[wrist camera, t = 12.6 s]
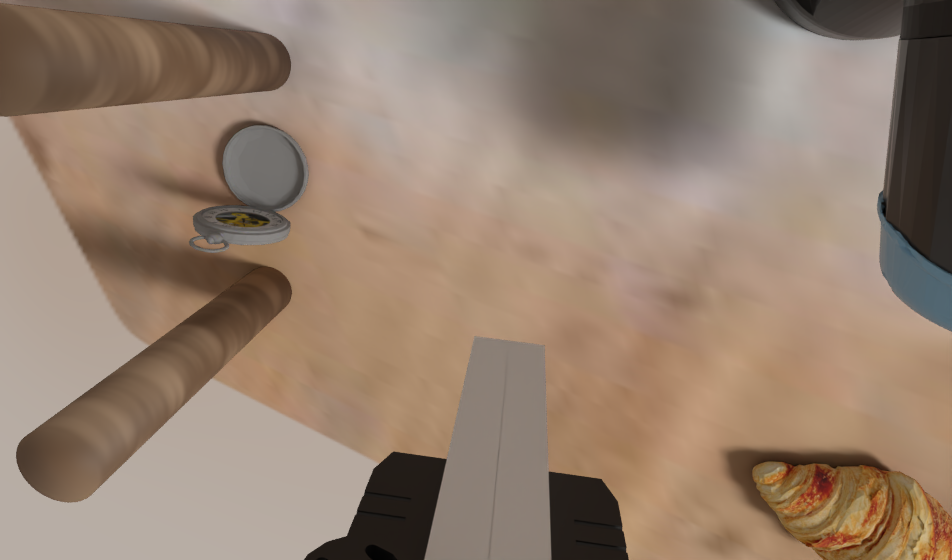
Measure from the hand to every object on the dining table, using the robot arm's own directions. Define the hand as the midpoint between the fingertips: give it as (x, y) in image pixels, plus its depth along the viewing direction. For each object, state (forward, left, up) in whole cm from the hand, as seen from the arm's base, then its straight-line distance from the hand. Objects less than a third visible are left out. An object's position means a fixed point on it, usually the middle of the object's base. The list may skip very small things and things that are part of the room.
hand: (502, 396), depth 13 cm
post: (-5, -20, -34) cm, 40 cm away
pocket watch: (+4, -20, -35) cm, 40 cm away
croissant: (+26, +32, -35) cm, 54 cm away
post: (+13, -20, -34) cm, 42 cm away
